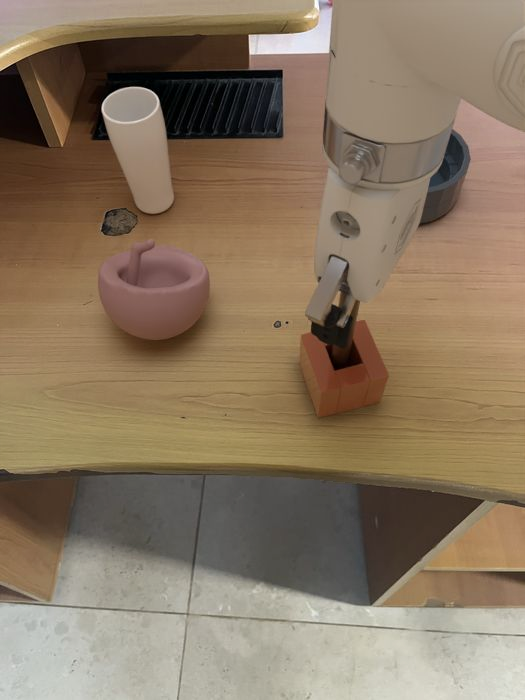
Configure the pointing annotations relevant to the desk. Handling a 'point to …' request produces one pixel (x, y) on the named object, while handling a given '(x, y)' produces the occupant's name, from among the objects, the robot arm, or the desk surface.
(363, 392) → the holder
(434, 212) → the bowl
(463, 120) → the desk surface
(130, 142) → the drinking glass
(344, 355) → the stirring stick
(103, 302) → the mortar and pestle
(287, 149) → the desk surface
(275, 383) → the desk surface
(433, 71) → the robot arm
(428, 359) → the desk surface
